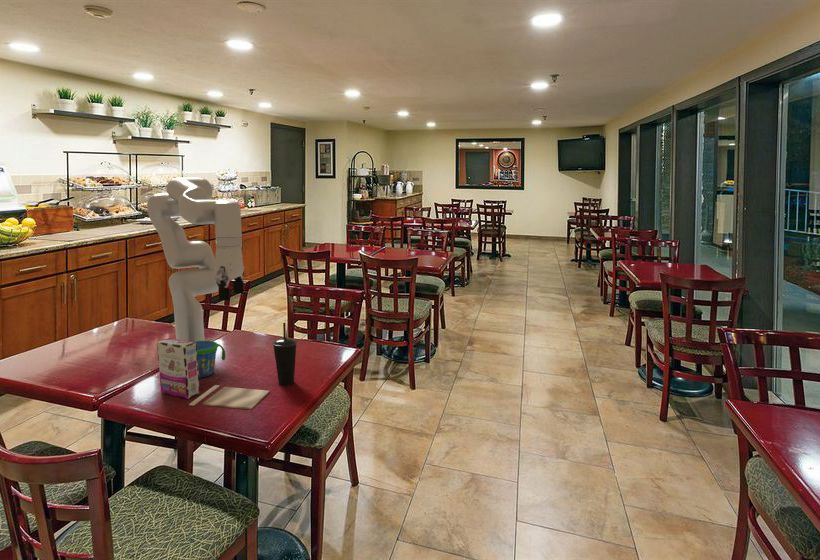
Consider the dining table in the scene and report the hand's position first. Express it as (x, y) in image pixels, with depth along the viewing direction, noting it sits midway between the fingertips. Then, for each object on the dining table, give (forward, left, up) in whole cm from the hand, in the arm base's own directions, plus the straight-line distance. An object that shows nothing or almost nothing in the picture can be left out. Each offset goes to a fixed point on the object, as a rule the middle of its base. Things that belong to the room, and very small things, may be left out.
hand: (231, 296), depth 158 cm
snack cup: (-14, +3, -28) cm, 31 cm away
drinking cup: (+16, +2, -28) cm, 33 cm away
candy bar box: (-12, -12, -28) cm, 33 cm away
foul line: (-4, -12, -28) cm, 31 cm away
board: (+7, -12, -28) cm, 31 cm away
